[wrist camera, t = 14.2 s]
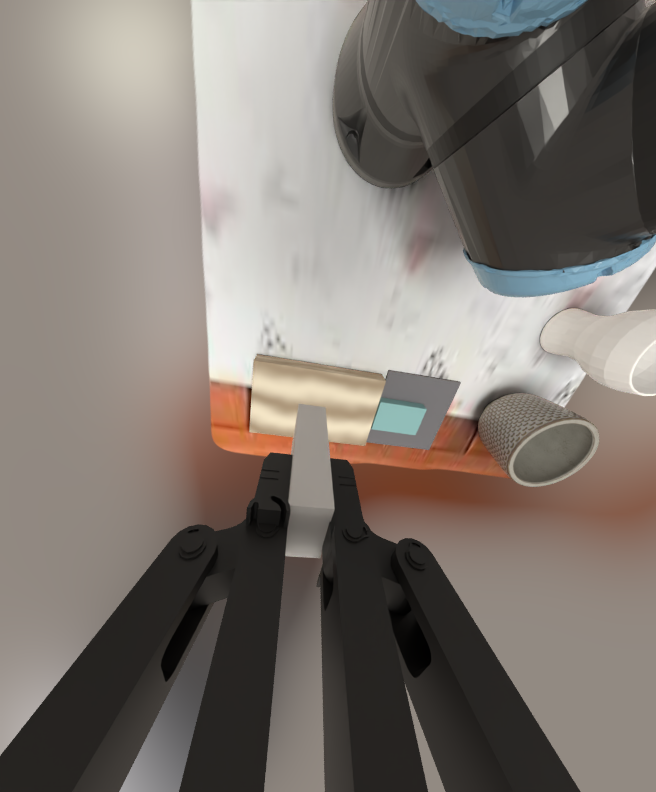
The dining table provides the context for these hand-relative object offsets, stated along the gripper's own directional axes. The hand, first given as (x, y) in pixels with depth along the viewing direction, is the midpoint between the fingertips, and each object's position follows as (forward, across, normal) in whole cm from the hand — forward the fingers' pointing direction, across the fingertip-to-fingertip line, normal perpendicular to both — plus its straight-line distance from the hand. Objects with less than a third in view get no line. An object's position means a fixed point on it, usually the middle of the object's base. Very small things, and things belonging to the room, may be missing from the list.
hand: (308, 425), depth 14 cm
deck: (+29, +3, -14) cm, 33 cm away
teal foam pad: (+29, +19, -14) cm, 38 cm away
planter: (+30, +40, -11) cm, 51 cm away
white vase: (+30, +43, +6) cm, 53 cm away
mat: (+29, +22, -14) cm, 39 cm away
